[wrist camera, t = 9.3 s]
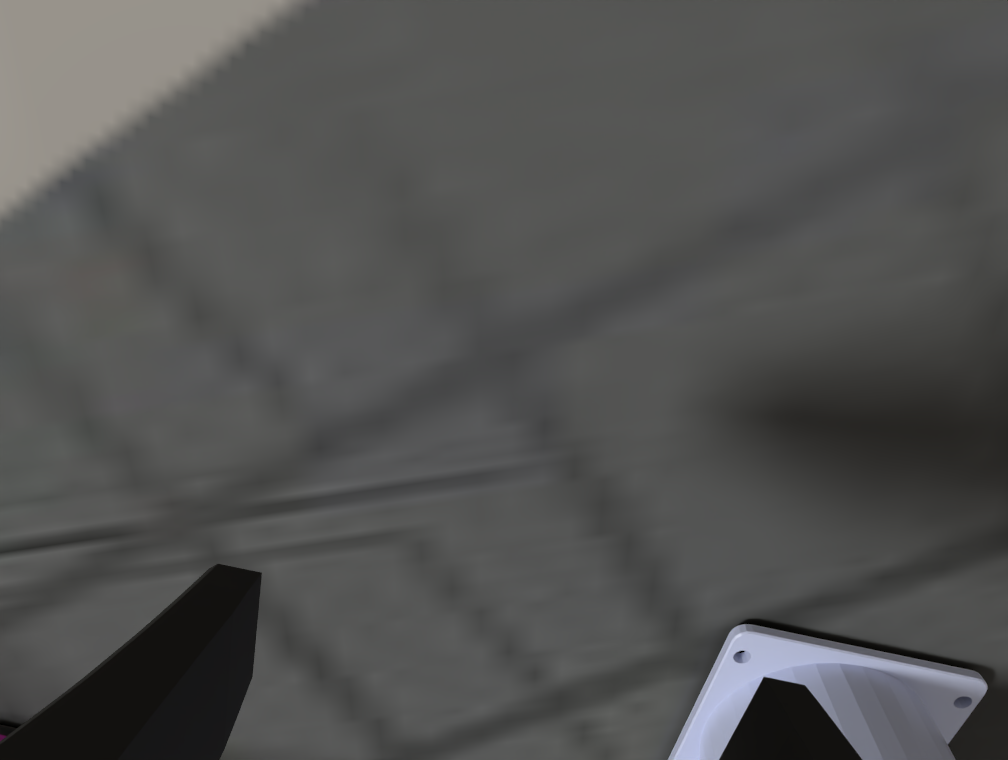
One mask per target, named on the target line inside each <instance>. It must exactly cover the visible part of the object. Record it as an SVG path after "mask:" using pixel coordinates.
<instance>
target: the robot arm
mask: <svg viewBox="0 0 1008 760" xmlns="http://www.w3.org/2000/svg"><path fill="white" fill-rule="evenodd" d="M261 575H262V573H260V572H255V571H250V570H245V569H241V568H236V567H231V566H226V565H221V564H217V565H215V566H213V567H211V568H209V569H208V570H207V571H206V572H205V573H204V574H203V575H202V576H201V577H200V578H199V579H198V580H197V581H195V582H194V583H193V584H192V585H191V586H190V587H189V588H188V589H187V590H186V591H185V592H183V593H182V594H181V595H180V596H179V597H178V598H177V599H176V600H175V601H174V602H172V603H171V604H170V605H169V606H168V607H167V608H166V609H165V610H163V611H162V612H161V613H160V614H159V615H158V616H157V617H156V618H154V619H153V620H152V621H151V622H150V623H149V624H147V625H146V626H145V627H144V628H143V629H142V630H141V631H139V632H138V633H137V634H136V635H135V636H134V637H132V638H131V639H130V640H129V641H128V642H126V643H125V644H124V645H123V646H122V647H120V648H119V649H118V650H117V651H115V652H114V653H113V654H112V655H111V656H109V657H108V658H107V659H106V660H105V661H103V662H102V663H101V664H100V665H98V666H97V667H96V668H95V669H94V670H92V671H91V672H90V673H89V674H88V675H86V676H85V677H84V678H83V679H81V680H80V681H79V682H78V683H76V684H75V685H74V686H73V687H71V688H70V689H69V690H67V691H66V692H65V693H63V694H62V695H61V696H59V697H58V698H57V699H55V700H54V701H53V702H52V703H50V704H49V705H48V706H46V707H45V708H44V709H42V710H41V711H40V712H38V713H37V714H36V715H34V716H33V717H32V718H30V719H29V720H28V721H26V722H25V723H24V724H22V725H21V726H20V727H18V728H17V729H16V730H14V731H13V732H12V733H10V734H9V735H8V736H6V737H5V738H4V739H2V740H1V741H0V760H219V759H220V757H221V755H222V753H223V751H224V749H225V746H226V743H227V741H228V738H229V736H230V733H231V731H232V728H233V726H234V723H235V721H236V718H237V716H238V713H239V710H240V708H241V705H242V702H243V700H244V697H245V695H246V692H247V689H248V687H249V684H250V681H251V679H252V675H253V664H254V653H255V642H256V631H257V619H258V608H259V597H260V586H261ZM739 651H745V652H742V653H736V652H739ZM987 689H988V687H987V683H986V682H985V680H984V679H983V677H982V676H981V675H980V674H979V673H978V672H976V671H973V670H969V669H964V668H959V667H954V666H949V665H945V664H940V663H935V662H930V661H925V660H920V659H916V658H911V657H906V656H901V655H896V654H892V653H887V652H882V651H877V650H872V649H868V648H863V647H858V646H853V645H848V644H844V643H839V642H834V641H829V640H824V639H819V638H815V637H810V636H805V635H800V634H795V633H791V632H786V631H781V630H776V629H771V628H767V627H762V626H757V625H752V624H742V625H738V626H737V627H735V628H733V629H732V630H731V632H730V633H729V635H728V637H727V639H726V641H725V643H724V645H723V647H722V649H721V651H720V653H719V655H718V658H717V660H716V662H715V664H714V666H713V668H712V670H711V672H710V674H709V676H708V678H707V680H706V682H705V684H704V686H703V688H702V690H701V693H700V695H699V697H698V699H697V701H696V703H695V705H694V707H693V709H692V711H691V713H690V715H689V717H688V719H687V721H686V723H685V725H684V728H683V730H682V732H681V734H680V736H679V738H678V740H677V742H676V744H675V746H674V748H673V750H672V752H671V754H670V756H669V758H668V760H956V759H955V757H954V755H953V754H952V752H951V750H950V748H949V746H948V744H949V742H950V741H951V740H952V738H953V737H954V736H955V734H956V733H957V731H958V730H959V729H960V727H961V726H962V725H963V723H964V722H965V721H966V719H967V718H968V717H969V715H970V714H971V713H972V711H973V710H974V709H975V707H976V706H977V704H978V703H979V702H980V700H981V699H982V698H983V696H984V695H985V694H986V691H987Z"/></svg>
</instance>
